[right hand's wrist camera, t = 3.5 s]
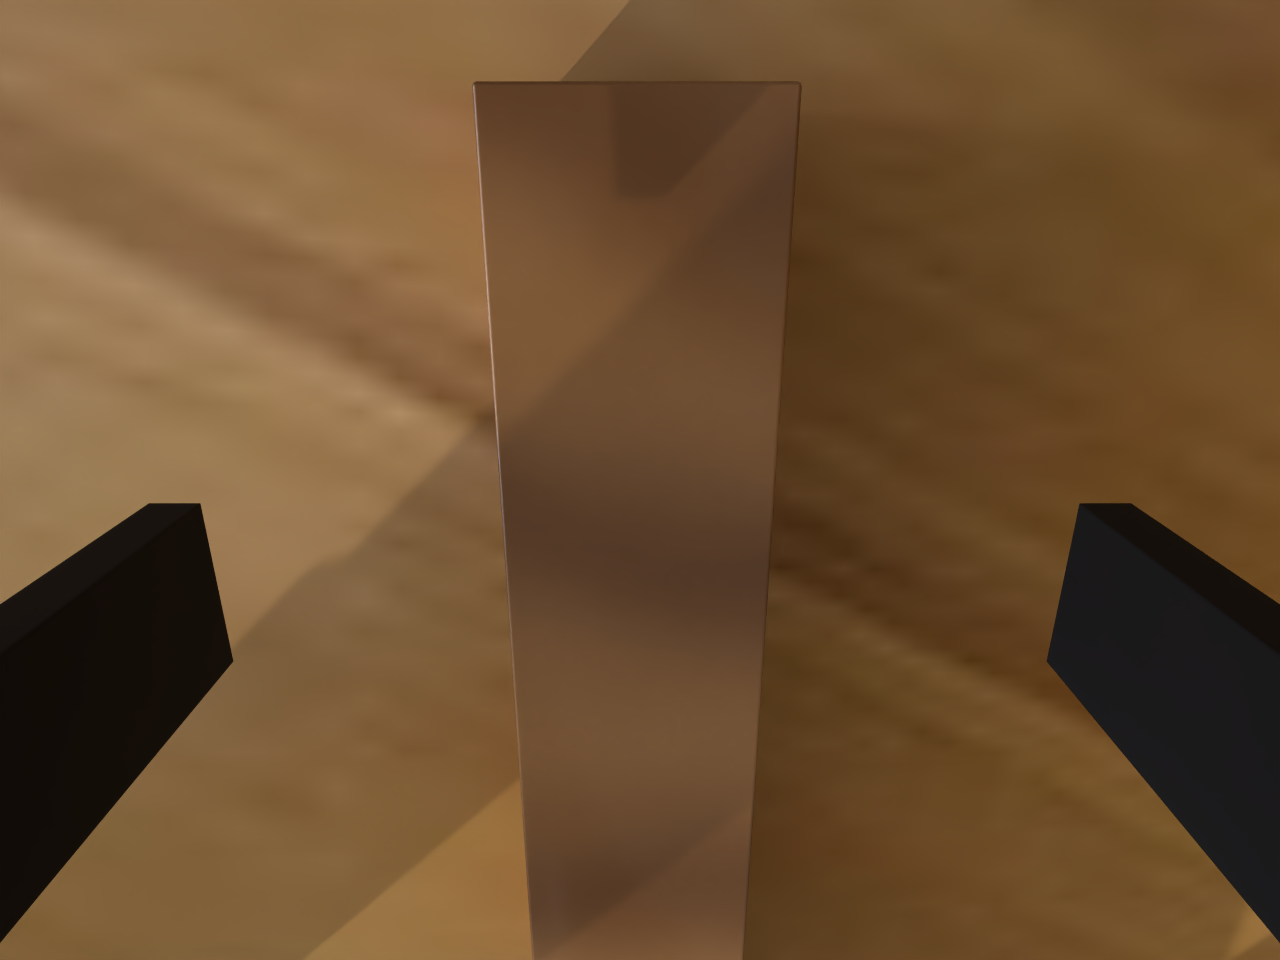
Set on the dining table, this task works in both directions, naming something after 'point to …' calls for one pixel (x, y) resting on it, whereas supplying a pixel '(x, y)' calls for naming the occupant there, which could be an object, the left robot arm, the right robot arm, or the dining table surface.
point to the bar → (637, 488)
